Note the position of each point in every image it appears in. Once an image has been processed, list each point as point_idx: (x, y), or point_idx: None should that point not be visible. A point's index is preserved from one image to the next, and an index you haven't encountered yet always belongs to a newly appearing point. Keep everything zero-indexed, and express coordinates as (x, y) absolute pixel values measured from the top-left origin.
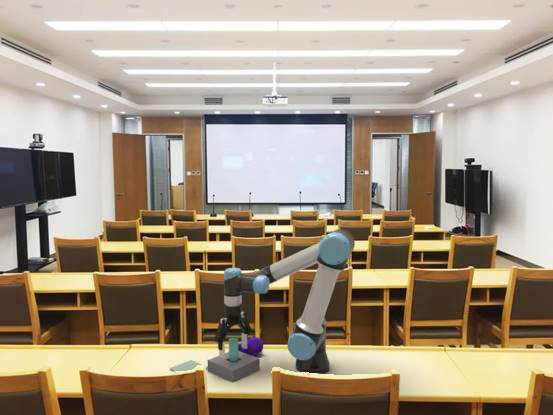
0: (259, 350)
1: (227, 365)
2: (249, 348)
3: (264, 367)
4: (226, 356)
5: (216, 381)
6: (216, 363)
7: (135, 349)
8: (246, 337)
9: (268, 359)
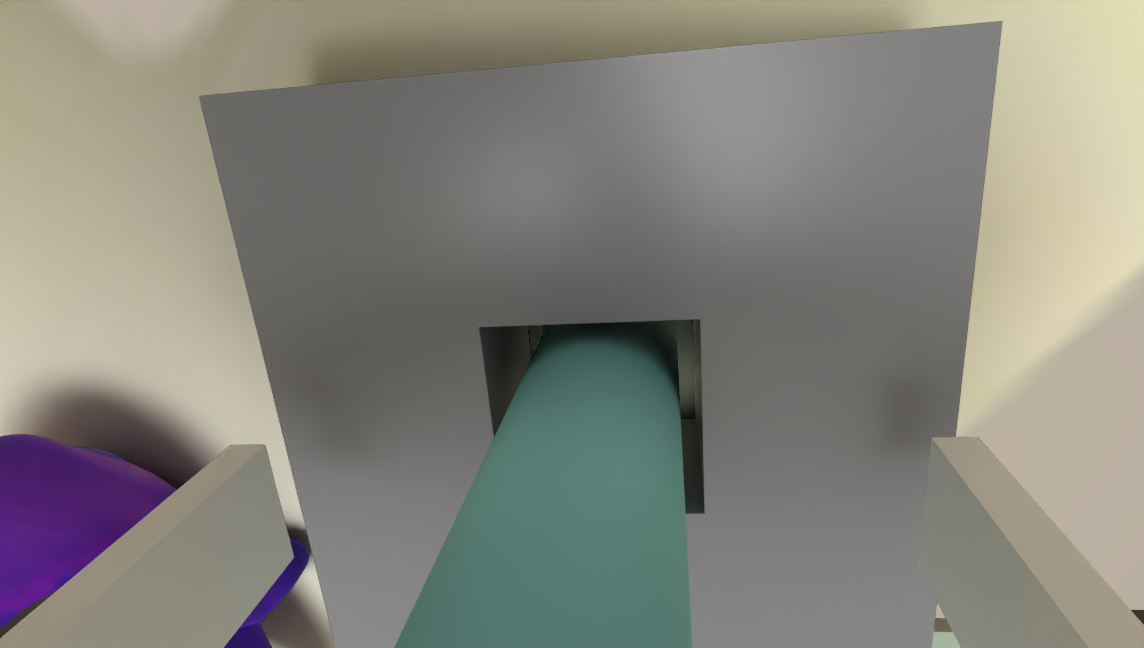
0: (25, 445)
1: (870, 306)
2: None
3: None
4: None
5: (1045, 253)
6: None
7: None
8: (22, 639)
9: (37, 271)
